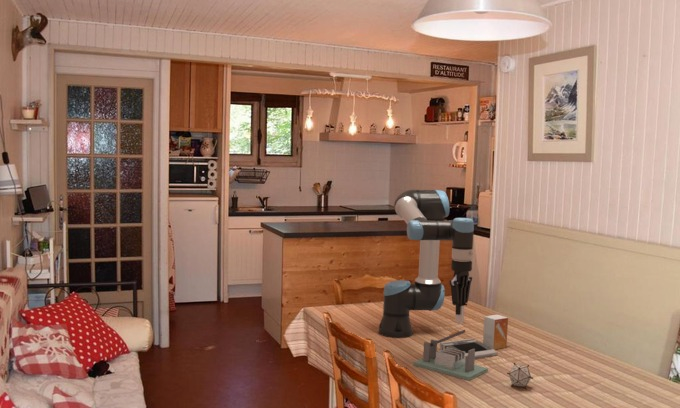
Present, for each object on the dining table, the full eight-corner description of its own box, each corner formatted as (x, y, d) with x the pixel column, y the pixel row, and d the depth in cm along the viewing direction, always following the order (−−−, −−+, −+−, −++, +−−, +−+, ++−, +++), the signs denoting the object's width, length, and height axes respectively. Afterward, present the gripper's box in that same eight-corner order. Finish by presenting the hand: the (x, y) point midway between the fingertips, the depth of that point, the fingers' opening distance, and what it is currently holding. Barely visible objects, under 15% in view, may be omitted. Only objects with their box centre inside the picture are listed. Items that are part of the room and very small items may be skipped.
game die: (513, 395, 234) (501, 368, 239) (535, 387, 235) (523, 360, 239) (516, 391, 226) (504, 363, 230) (540, 382, 227) (526, 355, 231)
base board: (413, 365, 253) (414, 342, 252) (432, 357, 264) (433, 335, 263) (469, 380, 238) (470, 355, 237) (487, 371, 248) (488, 347, 248)
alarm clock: (472, 338, 283) (498, 345, 268) (472, 349, 283) (498, 357, 268) (439, 342, 275) (464, 350, 260) (439, 353, 275) (464, 362, 260)
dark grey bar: (427, 347, 255) (426, 343, 256) (432, 346, 257) (430, 342, 258) (461, 334, 245) (460, 330, 246) (465, 332, 248) (464, 328, 248)
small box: (493, 350, 276) (494, 319, 275) (482, 346, 281) (483, 316, 280) (507, 347, 280) (508, 317, 279) (495, 343, 285) (497, 314, 284)
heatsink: (434, 368, 250) (435, 351, 249) (447, 363, 257) (447, 346, 256) (453, 373, 245) (453, 356, 244) (465, 367, 252) (466, 351, 251)
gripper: (461, 262, 238) (459, 327, 240) (479, 259, 248) (476, 321, 250) (443, 260, 243) (441, 323, 245) (461, 257, 253) (459, 318, 255)
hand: (459, 322), depth 247 cm, fingers closed
